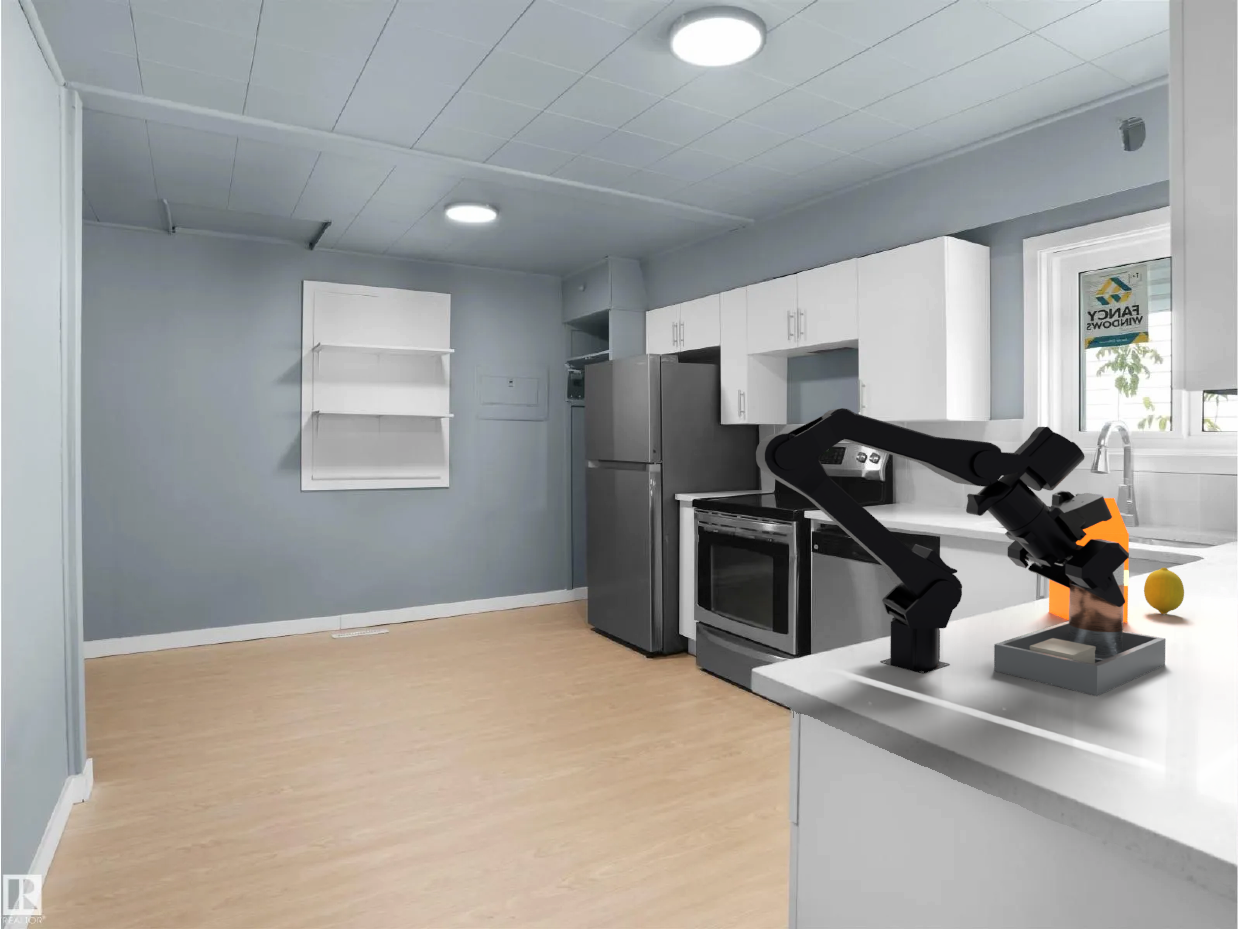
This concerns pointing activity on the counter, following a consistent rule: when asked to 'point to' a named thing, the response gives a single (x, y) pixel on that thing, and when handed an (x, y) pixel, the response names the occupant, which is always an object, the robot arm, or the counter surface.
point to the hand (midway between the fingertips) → (1106, 599)
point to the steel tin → (1096, 619)
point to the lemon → (1164, 590)
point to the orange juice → (1103, 530)
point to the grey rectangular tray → (1074, 674)
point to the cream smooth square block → (1066, 650)
